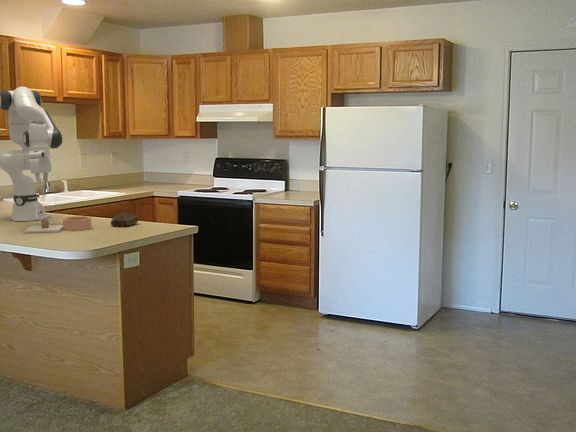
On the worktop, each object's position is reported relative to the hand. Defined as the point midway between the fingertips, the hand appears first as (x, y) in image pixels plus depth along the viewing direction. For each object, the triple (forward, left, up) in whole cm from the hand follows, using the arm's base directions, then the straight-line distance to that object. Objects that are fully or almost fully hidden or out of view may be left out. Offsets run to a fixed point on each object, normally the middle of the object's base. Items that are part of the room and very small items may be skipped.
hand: (42, 182), depth 320 cm
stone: (-23, +32, -25) cm, 47 cm away
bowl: (-6, +15, -25) cm, 29 cm away
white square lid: (-1, 0, -24) cm, 24 cm away
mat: (-1, 0, -25) cm, 25 cm away
